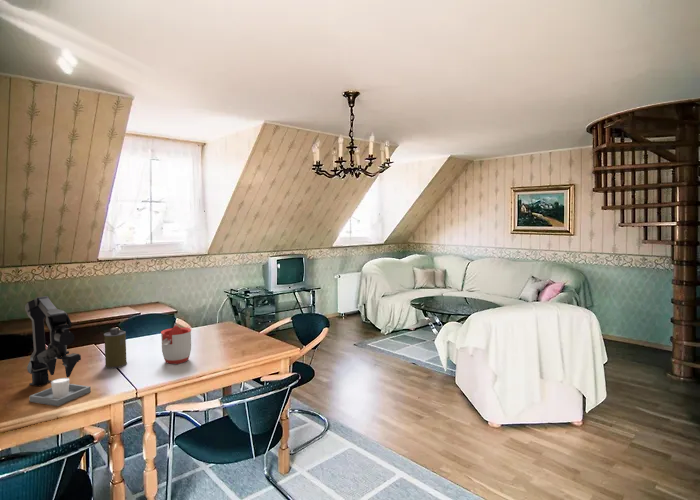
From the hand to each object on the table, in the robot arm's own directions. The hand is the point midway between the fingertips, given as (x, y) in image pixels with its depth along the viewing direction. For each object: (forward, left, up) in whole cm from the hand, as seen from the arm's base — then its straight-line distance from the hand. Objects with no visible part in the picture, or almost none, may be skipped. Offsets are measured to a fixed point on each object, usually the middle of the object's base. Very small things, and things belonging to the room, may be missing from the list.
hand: (60, 376), depth 192 cm
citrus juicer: (+16, +55, -10) cm, 58 cm away
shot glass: (0, 0, -9) cm, 9 cm away
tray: (0, 0, -9) cm, 9 cm away
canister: (-11, +41, -10) cm, 44 cm away
